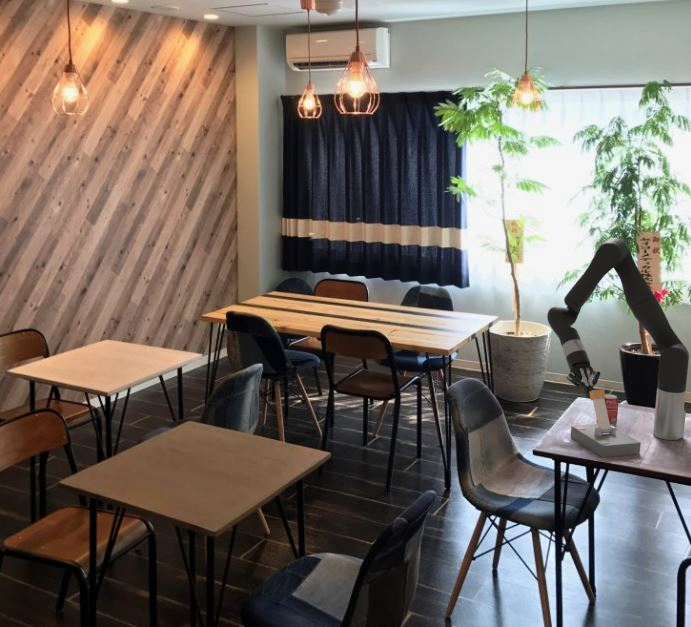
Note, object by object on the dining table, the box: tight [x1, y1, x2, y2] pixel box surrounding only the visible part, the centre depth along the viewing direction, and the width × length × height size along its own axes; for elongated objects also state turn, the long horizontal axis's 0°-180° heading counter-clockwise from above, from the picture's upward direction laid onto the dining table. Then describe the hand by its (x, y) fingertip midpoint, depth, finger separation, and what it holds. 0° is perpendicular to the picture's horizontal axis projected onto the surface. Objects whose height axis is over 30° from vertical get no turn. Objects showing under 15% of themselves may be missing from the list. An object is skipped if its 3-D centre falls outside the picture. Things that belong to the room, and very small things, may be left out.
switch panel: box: [570, 423, 642, 458], centre depth 274 cm, size 14×20×6 cm
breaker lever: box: [589, 389, 611, 433], centre depth 276 cm, size 4×2×15 cm, turn 105°
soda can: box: [596, 393, 619, 428], centre depth 292 cm, size 7×7×12 cm
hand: (591, 397), depth 281 cm, fingers closed
